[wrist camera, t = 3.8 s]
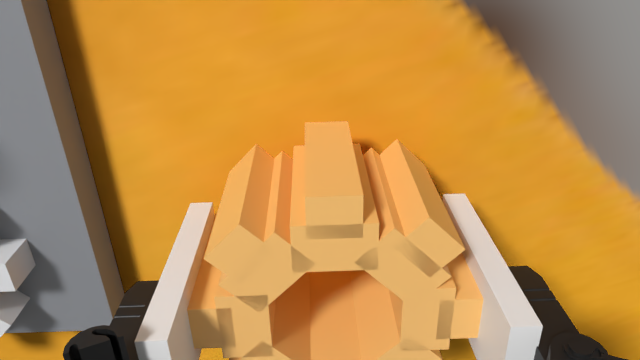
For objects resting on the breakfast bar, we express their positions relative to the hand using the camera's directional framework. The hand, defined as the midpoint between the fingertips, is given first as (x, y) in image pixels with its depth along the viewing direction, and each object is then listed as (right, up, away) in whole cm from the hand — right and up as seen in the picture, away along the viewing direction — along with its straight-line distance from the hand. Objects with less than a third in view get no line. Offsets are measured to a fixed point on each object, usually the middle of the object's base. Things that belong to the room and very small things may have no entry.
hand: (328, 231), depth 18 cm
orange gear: (0, 0, 0) cm, 0 cm away
